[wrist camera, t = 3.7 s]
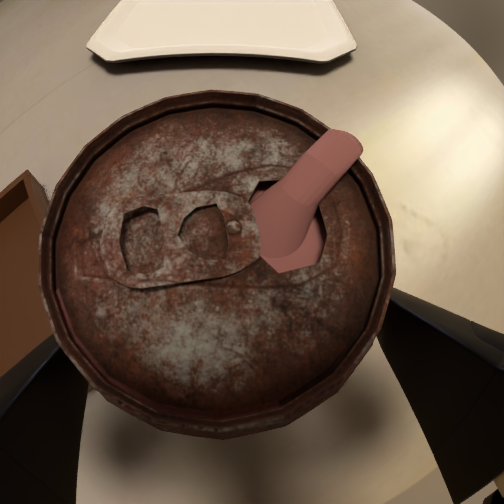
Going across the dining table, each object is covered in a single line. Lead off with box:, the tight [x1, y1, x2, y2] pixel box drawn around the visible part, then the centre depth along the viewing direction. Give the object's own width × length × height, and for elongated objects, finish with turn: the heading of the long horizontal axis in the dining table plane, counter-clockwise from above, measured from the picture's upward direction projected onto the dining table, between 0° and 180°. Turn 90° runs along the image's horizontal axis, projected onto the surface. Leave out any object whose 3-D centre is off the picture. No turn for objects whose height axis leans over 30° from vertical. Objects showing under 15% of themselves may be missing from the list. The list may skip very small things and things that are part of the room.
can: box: [38, 90, 396, 440], centre depth 11 cm, size 6×6×14 cm
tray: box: [0, 170, 94, 392], centre depth 15 cm, size 15×12×3 cm
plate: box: [87, 0, 357, 64], centre depth 28 cm, size 29×29×2 cm
